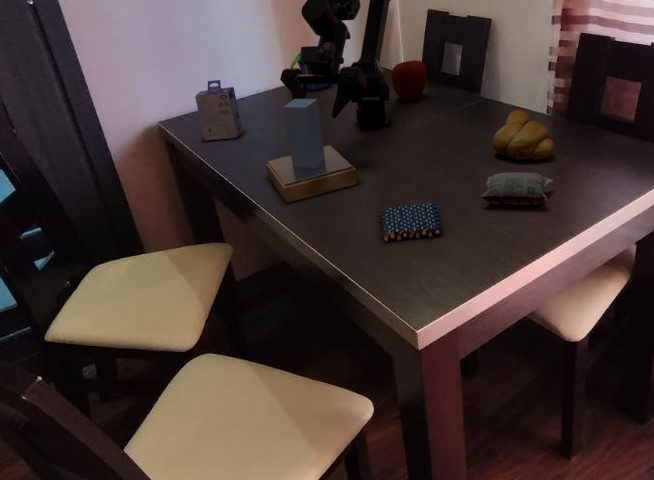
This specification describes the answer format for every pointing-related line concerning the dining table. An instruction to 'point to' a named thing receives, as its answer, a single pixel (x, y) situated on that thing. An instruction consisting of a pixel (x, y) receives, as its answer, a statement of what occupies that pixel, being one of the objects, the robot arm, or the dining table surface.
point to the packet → (304, 132)
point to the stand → (311, 176)
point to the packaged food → (516, 188)
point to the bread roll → (523, 138)
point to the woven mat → (410, 221)
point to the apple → (409, 79)
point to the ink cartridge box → (218, 112)
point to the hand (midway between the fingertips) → (314, 117)
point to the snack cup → (305, 71)
